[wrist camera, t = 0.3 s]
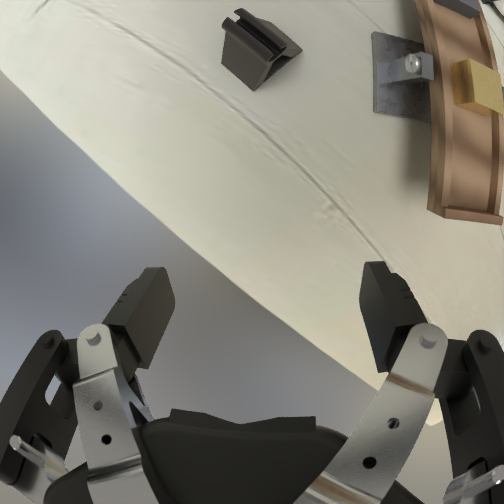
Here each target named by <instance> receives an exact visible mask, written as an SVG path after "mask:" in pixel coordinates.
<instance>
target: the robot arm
mask: <svg viewBox="0 0 504 504" xmlns="http://www.w3.org/2000/svg"><path fill="white" fill-rule="evenodd" d="M359 303H360V309H361V313H362V316H363V319H364V323H365V326H366V329H367V333H368V336H369V340H370V343H371V347H372V351H373V355H374V358H375V362H376V366H377V370H378V373H381V372H388V373H389V374H388V376H387V378H386V379H385V381H384V383H383V385H382V386H381V388H380V390H379V392H378V394H377V395H376V397H375V399H374V400H373V402H372V404H371V405H370V407H369V409H368V410H367V411H366V413H365V415H364V417H363V418H362V419H361V421H360V422H359V424H358V425H357V427H356V428H355V430H354V431H353V433H352V434H351V436H350V437H349V438H348V437H346V436H345V435H343V434H341V433H340V432H338V431H335V430H333V429H330V428H327V427H323V426H317V425H316V418H315V416H311V417H277V418H273V419H268V420H263V421H257V422H252V423H246V424H235V423H233V422H229V421H226V420H223V419H220V418H217V417H214V416H211V415H208V414H206V413H200V412H192V411H185V410H179V409H172V410H171V413H170V416H169V417H167V418H161V419H156V420H155V419H154V417H153V416H152V414H151V412H150V410H149V407H148V405H147V402H146V399H145V397H144V394H143V392H142V389H141V386H140V383H139V380H138V378H137V375H136V374H135V371H136V369H137V368H143V369H148V368H149V366H150V363H151V361H152V359H153V356H154V354H155V352H156V349H157V347H158V345H159V342H160V340H161V338H162V336H163V334H164V331H165V329H166V327H167V325H168V323H169V320H170V318H171V316H172V314H173V311H174V308H175V298H174V294H173V291H172V287H171V284H170V281H169V277H168V274H167V271H166V269H165V268H164V267H147V268H146V269H145V270H144V272H143V273H142V274H141V276H140V277H139V278H138V279H136V280H134V281H133V282H132V283H131V284H129V285H128V286H127V287H126V289H125V290H124V291H123V293H122V296H120V297H119V299H118V300H117V302H116V303H115V304H114V306H113V307H112V309H111V310H110V312H109V313H108V315H107V316H106V318H105V319H104V321H103V322H102V324H94V325H91V326H89V327H87V328H86V329H84V330H83V331H82V332H81V334H80V335H79V336H78V338H76V339H68V340H65V339H64V337H63V336H62V334H61V332H60V331H58V330H51V331H48V332H46V333H44V334H43V335H42V336H41V337H40V338H39V339H38V340H37V342H36V343H35V345H34V346H33V348H32V350H31V351H30V353H29V354H28V356H27V357H26V359H25V361H24V362H23V364H22V365H21V367H20V369H19V370H18V372H17V374H16V376H15V377H14V379H13V381H12V383H11V384H10V386H9V388H8V390H7V391H6V394H5V395H4V397H3V399H2V401H1V403H0V481H1V482H3V483H4V484H5V485H7V486H9V487H11V488H13V489H14V490H16V491H18V492H20V493H22V494H23V495H24V496H26V497H27V498H28V499H30V500H31V501H33V502H34V503H36V504H424V503H423V502H421V501H420V500H419V499H418V498H417V497H415V496H414V495H413V494H411V492H409V491H408V490H407V489H406V488H405V487H403V486H402V485H401V484H400V483H399V482H397V481H396V480H395V479H396V478H397V476H398V474H399V473H400V471H401V469H402V467H403V466H404V464H405V462H406V460H407V458H408V457H409V455H410V453H411V451H412V449H413V447H414V445H415V443H416V441H417V439H418V437H419V435H420V432H421V430H422V428H423V425H424V423H425V421H426V419H427V416H428V414H429V412H430V409H431V407H432V404H433V401H434V398H438V399H439V403H440V407H441V411H442V415H443V419H444V424H445V429H446V434H447V439H448V445H449V450H450V456H451V464H452V472H453V480H452V481H451V483H450V484H449V485H448V487H447V489H446V492H445V495H444V497H443V504H504V352H503V350H502V348H501V346H500V344H499V342H498V340H497V339H496V338H495V336H494V335H492V334H491V333H489V332H488V331H485V330H475V331H473V332H472V333H471V334H470V336H469V338H468V339H467V341H463V340H454V339H447V336H446V334H445V333H444V331H443V330H442V329H440V328H439V327H437V326H436V325H433V324H430V323H428V321H427V319H426V318H425V316H424V314H423V312H422V310H421V308H420V306H419V304H418V302H417V300H416V299H415V298H414V295H413V293H412V291H410V288H409V286H408V284H407V282H406V281H405V280H404V279H403V278H402V277H401V276H399V275H398V274H397V273H391V272H390V270H389V268H388V267H387V265H386V263H385V262H384V261H373V262H365V264H364V269H363V276H362V282H361V288H360V295H359ZM54 375H55V376H56V377H57V378H58V379H59V381H60V382H61V384H60V386H59V388H58V390H57V392H56V394H55V396H54V398H53V400H52V402H51V405H49V404H48V403H47V402H46V399H45V392H46V390H47V387H48V386H49V384H50V382H51V380H52V378H53V376H54ZM474 389H475V391H476V394H477V397H478V400H479V404H480V409H479V405H478V402H477V399H476V396H475V393H474ZM77 425H79V430H80V435H81V439H82V444H83V448H84V453H85V457H86V460H87V461H86V462H85V463H83V464H82V465H80V466H78V467H77V468H75V469H73V470H72V471H70V472H69V471H68V469H66V468H65V464H64V460H65V458H66V455H67V452H68V449H69V446H70V443H71V440H72V438H73V435H74V432H75V430H76V427H77Z"/></svg>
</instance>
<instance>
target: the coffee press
mask: <svg viewBox="0 0 504 504" xmlns="http://www.w3.org/2000/svg"><path fill="white" fill-rule="evenodd" d="M482 1H483V3H484V4H488V3H494V4H495V6H496V7H497V9H498V10H499V11H500V12H501V14H502V15H503V16H504V0H482Z"/></svg>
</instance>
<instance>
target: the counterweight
mask: <svg viewBox="0 0 504 504" xmlns="http://www.w3.org/2000/svg"><path fill="white" fill-rule="evenodd" d="M433 2H434V3H436V4H439V5H441V6H444V7H446V8H448V9H450V10H452V11H454V12H457V13H459V14H461V15H463V16H465V17H467V18H469V19H471V18H472V17H474V16H476V15H478V14H480V13H481V10H480V7H479V4H478V2H477V0H433Z"/></svg>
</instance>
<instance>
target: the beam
mask: <svg viewBox="0 0 504 504" xmlns="http://www.w3.org/2000/svg"><path fill="white" fill-rule="evenodd" d="M414 1H415V5H416V9H417V13H418V17H419V21H420V26H421V31H422V36H423V41H424V47H425V53H427V54H430V55H433V71H434V81H429V86H430V100H431V129H432V138H431V168H430V182H429V193H428V203H427V210H429V211H431V212H433V213H435V214H437V215H439V216H441V217H443V218H446V219H455V220H464V221H472V222H480V223H488V224H495V225H502V223H503V218H504V217H502V216H500V215H499V209H500V202H501V194H502V184H503V170H504V118H503V115H501V116H482V115H480V114H477V113H475V112H472V111H470V110H467V109H464V108H461V107H459V106H456V105H454V94H453V83H452V75H451V67H450V65H452V64H455V63H457V62H460V61H463V60H465V59H468V58H470V59H472V60H474V61H476V62H478V63H480V64H482V65H484V66H486V67H488V68H490V69H492V70H494V71H495V72H497V73H498V68H497V63H496V58H495V53H494V49H493V45H492V41H491V37H490V34H489V30H488V27H487V23H486V20H485V17H484V14H483V11H482V8H481V6H480V3H479V0H477V2H478V4H479V7H480V10H481V13H480V14H478V15H476V16H474V17H472V18H471V19H469V18H467V17H465V16H463V15H461V14H459V13H457V12H454V11H452V10H450V9H448V8H446V7H444V6H441V5H439V4H436V3H434V2H433V0H414Z"/></svg>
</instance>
